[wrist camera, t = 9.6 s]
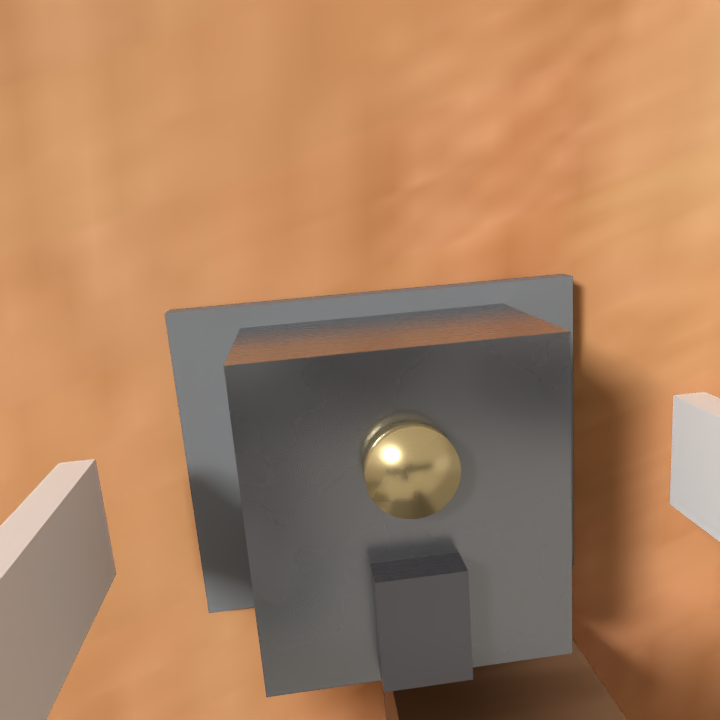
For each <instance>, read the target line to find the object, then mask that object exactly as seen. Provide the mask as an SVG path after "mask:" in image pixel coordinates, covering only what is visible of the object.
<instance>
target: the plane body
mask: <svg viewBox="0 0 720 720" xmlns="http://www.w3.org/2000/svg"><path fill="white" fill-rule="evenodd" d="M384 698H385V710H386V720H627V719H626V717H625V716H624V714H623V713H622V711H621V710H620V708H619V707H618V705H617V704H616V702H615V701H614V699H613V698H612V696H611V695H610V693H609V692H608V690H607V689H606V687H605V686H604V684H603V683H602V681H601V680H600V678H599V677H598V675H597V674H596V672H595V671H594V669H593V668H592V666H591V665H590V663H589V662H588V660H587V659H586V657H585V656H584V655H583V653H582V652H581V650H580V649H579V647H578V646H577V644H576V643H575V641H574V640H573V638H572V653H570V654H563V655H556V656H549V657H542V658H535V659H528V660H521V661H514V662H507V663H500V664H493V665H486V666H479V667H473V680H466V681H459V682H452V683H445V684H438V685H432V686H425V687H418V688H411V689H404V690H397V691H390V692H384Z"/></svg>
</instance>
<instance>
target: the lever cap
mask: <svg viewBox="0 0 720 720" xmlns="http://www.w3.org/2000/svg"><path fill="white" fill-rule="evenodd" d="M224 373H225V380H226V388H227V396H228V403H229V411H230V419H231V427H232V434H233V442H234V450H235V458H236V465H237V473H238V481H239V489H240V496H241V504H242V512H243V519H244V527H245V535H246V543H247V550H248V558H249V566H250V574H251V581H252V589H253V597H254V605H255V612H256V620H257V628H258V635H259V643H260V651H261V659H262V666H263V674H264V682H265V690H266V697H271V696H278V695H285V694H292V693H299V692H306V691H313V690H320V689H327V688H334V687H341V686H348V685H355V684H362V683H368V682H375V681H382V686H383V691H384V692H390V691H397V690H404V689H411V688H418V687H425V686H432V685H438V684H445V683H452V682H459V681H466V680H473V667H479V666H486V665H493V664H500V663H507V662H514V661H521V660H528V659H535V658H542V657H549V656H556V655H563V654H570V653H572V508H571V331H569V330H566V329H564V328H562V327H559V326H557V325H554V324H552V323H549V322H547V321H545V320H542V319H540V318H537V317H535V316H533V315H530V314H528V313H525V312H523V311H520V310H518V309H516V308H513V307H511V306H508V305H506V304H503V303H501V304H490V305H480V306H469V307H459V308H448V309H437V310H427V311H416V312H406V313H395V314H385V315H374V316H364V317H353V318H343V319H332V320H322V321H311V322H301V323H290V324H279V325H269V326H258V327H248V328H240V329H239V331H238V333H237V336H236V338H235V340H234V343H233V345H232V347H231V350H230V352H229V354H228V357H227V359H226V361H225V364H224Z"/></svg>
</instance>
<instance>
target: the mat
mask: <svg viewBox="0 0 720 720" xmlns="http://www.w3.org/2000/svg"><path fill="white" fill-rule="evenodd" d="M501 303H503V304H506V305H508V306H511V307H513V308H516V309H518V310H520V311H523V312H525V313H528V314H530V315H533V316H535V317H537V318H540V319H542V320H545V321H547V322H549V323H552V324H554V325H557V326H559V327H562V328H564V329H566V330H569V331H571V508H572V565H574V457H573V276H570V275H565V274H557V275H546V276H535V277H525V278H514V279H503V280H492V281H481V282H470V283H459V284H448V285H437V286H426V287H415V288H405V289H394V290H383V291H372V292H361V293H350V294H339V295H328V296H317V297H306V298H295V299H285V300H274V301H263V302H252V303H241V304H230V305H219V306H208V307H197V308H186V309H175V310H169V311H167V312H166V313H165V319H166V326H167V332H168V339H169V346H170V353H171V360H172V366H173V373H174V380H175V387H176V393H177V400H178V407H179V414H180V421H181V427H182V434H183V441H184V448H185V454H186V461H187V468H188V475H189V481H190V488H191V495H192V502H193V509H194V515H195V522H196V529H197V536H198V542H199V549H200V556H201V563H202V570H203V576H204V583H205V590H206V597H207V603H208V610H209V613H214V612H221V611H229V610H236V609H244V608H252V607H255V605H254V597H253V589H252V581H251V574H250V566H249V558H248V550H247V543H246V535H245V527H244V519H243V512H242V504H241V496H240V489H239V481H238V473H237V465H236V458H235V450H234V442H233V434H232V427H231V419H230V411H229V403H228V396H227V388H226V380H225V373H224V364H225V361H226V359H227V357H228V354H229V352H230V350H231V347H232V345H233V343H234V340H235V338H236V336H237V333H238V331H239V329H240V328H248V327H258V326H269V325H279V324H290V323H301V322H311V321H322V320H332V319H343V318H353V317H364V316H374V315H385V314H395V313H406V312H416V311H427V310H437V309H448V308H459V307H469V306H480V305H490V304H501Z"/></svg>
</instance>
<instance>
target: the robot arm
mask: <svg viewBox="0 0 720 720" xmlns="http://www.w3.org/2000/svg"><path fill="white" fill-rule="evenodd" d="M670 505H672V506H673V507H674V508H676V509H677V510H678V511H679V512H681V513H682V514H683V515H685V516H686V517H687V518H689V519H690V520H691V521H693V522H694V523H695V524H697V525H698V526H699V527H701V528H702V529H703V530H704V531H706V532H707V533H708V534H710V535H711V536H712V537H714V538H715V539H716V540H718V541H719V542H720V398H718V397H715V396H713V395H711V394H708V393H706V392H699V393H690V394H681V395H673V423H672V455H671V487H670ZM115 575H116V570H115V564H114V559H113V553H112V548H111V542H110V536H109V531H108V525H107V520H106V514H105V509H104V503H103V498H102V492H101V487H100V481H99V476H98V470H97V465H96V459H90V460H81V461H72V462H63V463H58V464H57V465H56V467H55V468H54V469H53V470H52V471H51V472H50V473H49V474H48V475H47V476H46V477H45V478H44V480H43V481H42V482H41V483H40V484H39V485H38V486H37V487H36V488H35V489H34V490H33V491H32V493H31V494H30V495H29V496H28V497H27V498H26V499H25V500H24V501H23V502H22V503H21V504H20V505H19V507H18V508H17V509H16V510H15V511H14V512H13V513H12V514H11V515H10V516H9V517H8V518H7V520H6V521H5V522H4V523H3V524H2V525H1V526H0V720H46V719H47V717H48V715H49V713H50V711H51V708H52V706H53V704H54V702H55V700H56V698H57V696H58V694H59V692H60V690H61V688H62V686H63V683H64V681H65V679H66V677H67V675H68V673H69V671H70V669H71V667H72V665H73V663H74V661H75V658H76V656H77V654H78V652H79V650H80V648H81V646H82V644H83V642H84V640H85V638H86V636H87V633H88V631H89V629H90V627H91V625H92V623H93V621H94V619H95V617H96V615H97V613H98V611H99V608H100V606H101V604H102V602H103V600H104V598H105V596H106V594H107V592H108V590H109V588H110V586H111V583H112V581H113V579H114V577H115Z"/></svg>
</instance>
